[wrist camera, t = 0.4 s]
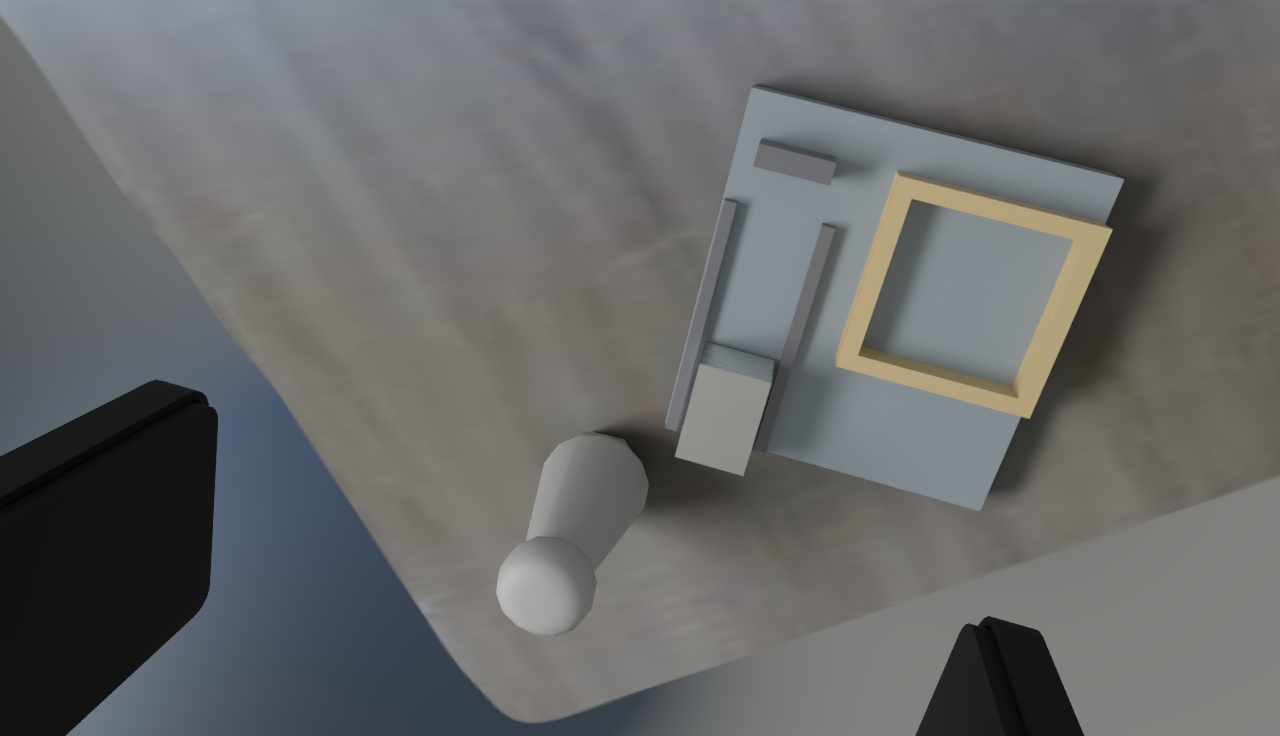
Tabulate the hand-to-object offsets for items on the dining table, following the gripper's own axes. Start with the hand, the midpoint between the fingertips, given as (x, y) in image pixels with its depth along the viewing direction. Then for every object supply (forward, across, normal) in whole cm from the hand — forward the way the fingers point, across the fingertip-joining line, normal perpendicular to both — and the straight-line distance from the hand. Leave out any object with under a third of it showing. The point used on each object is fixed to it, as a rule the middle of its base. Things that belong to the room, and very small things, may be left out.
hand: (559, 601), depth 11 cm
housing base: (+35, -8, +4) cm, 36 cm away
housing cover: (+33, -2, +10) cm, 34 cm away
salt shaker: (+35, +4, +17) cm, 39 cm away
